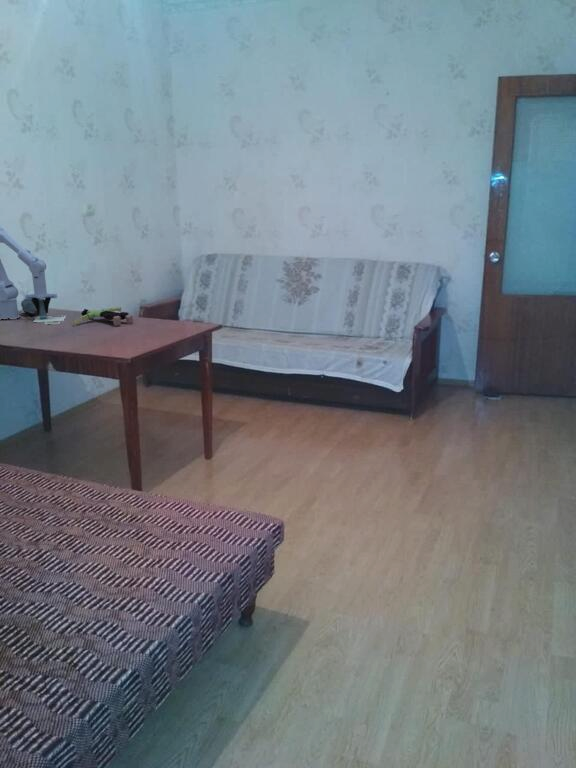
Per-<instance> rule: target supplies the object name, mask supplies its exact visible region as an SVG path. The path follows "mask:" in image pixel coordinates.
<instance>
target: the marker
mask: <svg viewBox="0 0 576 768" xmlns="http://www.w3.org/2000/svg"><path fill="white" fill-rule="evenodd" d="M38 305H39V314H38V315H39V317H40V319H47V315H48V313H46V306H45V298H43V299H39V300H38Z"/></svg>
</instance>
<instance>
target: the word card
mask: <svg viewBox="0 0 576 768" xmlns="http://www.w3.org/2000/svg"><path fill="white" fill-rule="evenodd" d="M43 323H44V324H43V325H44V326H45V325H46V326H48V324H52V325H60V324H61V321H59V322H43Z"/></svg>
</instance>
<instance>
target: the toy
mask: <svg viewBox="0 0 576 768" xmlns="http://www.w3.org/2000/svg"><path fill="white" fill-rule="evenodd" d="M94 318H103V319H105V320H107V321H112V322H113V326H115V327H116V326H121V324H122V323H121V322H122V320H125V322H126V324H127V325H131V324H133V322H134V319H133V314H130V313H129V312H125V311H122V306H119V307H118V306H117V307H116V306H115V307H110V308H103V309H101V310H99V309H95V310H93V309H91V310H89V309H86V308H84V309H83V310H82V312H81V316H80V317H78V318H77V319H75V320H74V321H73V322H71V324H72V326H74V327H77V325H79V323H80V322H83V321H86V320H89V319H90V320H94Z"/></svg>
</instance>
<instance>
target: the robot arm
mask: <svg viewBox="0 0 576 768" xmlns="http://www.w3.org/2000/svg"><path fill="white" fill-rule="evenodd" d="M0 243H1V244H2V243H3V244H5V245H6V246H7V247H8V248H10V249H11V250H12V251H13V252H14V253H16V255H17V258H18V259H19V260H20V261H22V262H23V263H24V264H25V265H26V266H27V267H28V269H29V272H31V276H32V284H33V293H34V294H33V293H32V294H25V295H24V299H32V302H33V304H34V305H35V307H36V309H37V312H38V313H37V314H38V315H40V314H39V305H38V299H44V300H45V306H46V314H48V313H49V308H50V307H49V306H50V303H51V300H52V299H57V298H58V294H57V293H48V292H47V291H48V290H47V282H46V270H47V264H46V262H45V261H44V260H43V259H39V258H38V257H37V256H35V254H33V253H32V252H31V250H30V249H27V248H22V247H21V245H19V243H18V242H17V241H16V240H14V238H13V237H12V236H11V235H9V233H8V231H6V230H5V229H4V228H3V227H1V226H0ZM18 296H19V290H18V288H17V287H16V286H15V285H14V282H12V281H11V280H10V279H9V277H8V274H7V271H6V270H5V267H4V264H3V262H2V260H1V258H0V316H1V317H0V318H17V317H19V316H18V315H19V310H18V302H17V301H18V300H17V297H18Z"/></svg>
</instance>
